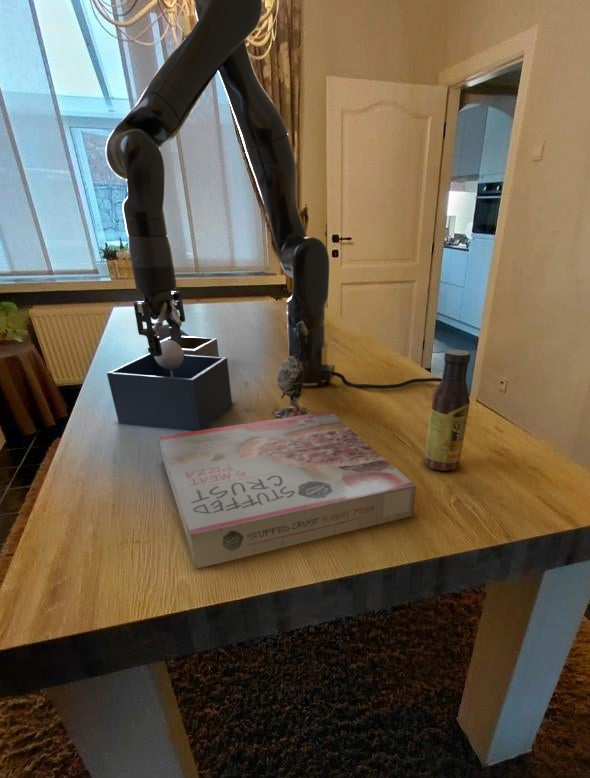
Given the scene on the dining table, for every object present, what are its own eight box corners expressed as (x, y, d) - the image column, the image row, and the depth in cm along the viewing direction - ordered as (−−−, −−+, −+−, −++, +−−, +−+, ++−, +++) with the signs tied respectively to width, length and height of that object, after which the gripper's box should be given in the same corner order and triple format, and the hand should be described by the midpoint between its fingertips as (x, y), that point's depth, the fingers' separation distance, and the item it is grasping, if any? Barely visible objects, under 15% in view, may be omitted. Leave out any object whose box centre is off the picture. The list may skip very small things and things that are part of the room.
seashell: (148, 362, 151) (142, 336, 146) (153, 340, 166) (148, 315, 161) (196, 359, 154) (191, 333, 149) (196, 337, 168) (192, 313, 163)
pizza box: (329, 411, 96) (415, 485, 71) (329, 436, 99) (412, 516, 74) (158, 436, 85) (190, 534, 60) (164, 464, 88) (196, 568, 63)
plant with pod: (305, 404, 114) (303, 313, 103) (316, 422, 105) (315, 324, 94) (270, 407, 112) (264, 314, 102) (278, 426, 103) (273, 326, 92)
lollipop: (197, 409, 109) (188, 339, 101) (177, 417, 105) (165, 345, 97) (178, 403, 112) (167, 335, 104) (157, 411, 108) (144, 340, 100)
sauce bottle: (451, 476, 85) (469, 360, 74) (418, 467, 88) (430, 353, 77) (464, 462, 90) (483, 350, 79) (432, 453, 92) (446, 345, 82)
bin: (232, 403, 114) (227, 357, 108) (200, 431, 100) (192, 380, 95) (159, 397, 117) (150, 352, 112) (118, 423, 104) (106, 373, 98)
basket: (219, 363, 142) (216, 338, 138) (198, 377, 131) (195, 350, 127) (176, 360, 145) (172, 335, 141) (152, 373, 133) (147, 347, 130)
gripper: (150, 267, 86) (166, 361, 95) (188, 260, 98) (199, 343, 107) (112, 266, 88) (131, 358, 96) (154, 258, 100) (168, 341, 108)
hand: (167, 350), depth 102 cm, fingers open, 8 cm apart
